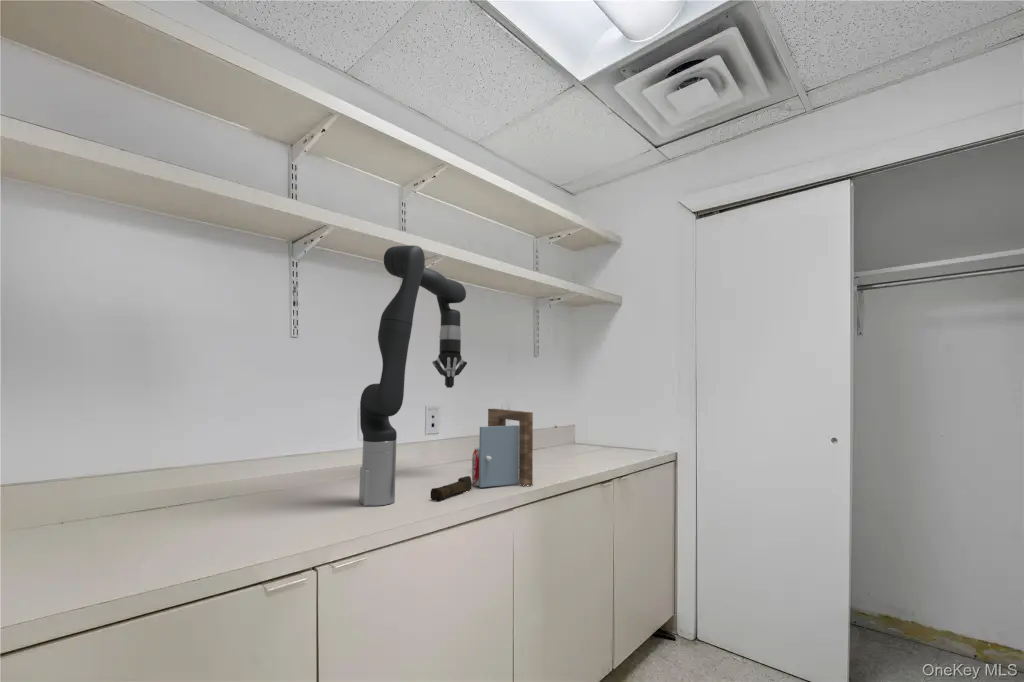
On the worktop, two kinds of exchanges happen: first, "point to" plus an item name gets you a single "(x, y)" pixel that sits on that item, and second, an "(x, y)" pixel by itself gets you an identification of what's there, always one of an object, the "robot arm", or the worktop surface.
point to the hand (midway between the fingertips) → (449, 387)
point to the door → (498, 455)
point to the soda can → (475, 467)
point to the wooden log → (451, 489)
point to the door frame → (525, 438)
